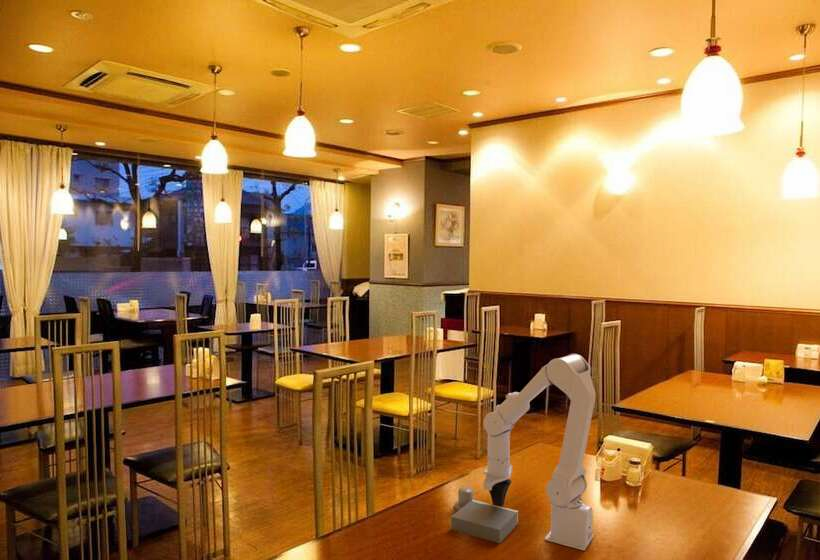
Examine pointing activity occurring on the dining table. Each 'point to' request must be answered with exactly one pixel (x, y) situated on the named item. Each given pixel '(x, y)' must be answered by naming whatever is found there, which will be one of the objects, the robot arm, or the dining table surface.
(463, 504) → the grey cup
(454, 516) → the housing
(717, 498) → the dining table surface
